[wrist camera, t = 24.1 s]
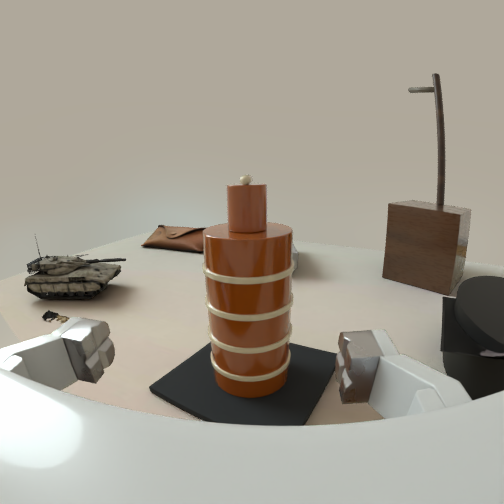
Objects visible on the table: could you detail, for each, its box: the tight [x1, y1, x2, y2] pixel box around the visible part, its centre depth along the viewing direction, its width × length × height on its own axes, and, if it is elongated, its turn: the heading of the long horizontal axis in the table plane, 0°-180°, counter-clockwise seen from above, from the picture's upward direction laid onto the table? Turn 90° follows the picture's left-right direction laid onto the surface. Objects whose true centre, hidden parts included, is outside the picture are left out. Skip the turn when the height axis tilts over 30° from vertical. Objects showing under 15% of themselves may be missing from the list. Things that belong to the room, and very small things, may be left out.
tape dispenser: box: [440, 276, 504, 400], centre depth 20 cm, size 14×18×8 cm
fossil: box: [42, 311, 69, 323], centre depth 32 cm, size 8×2×1 cm, turn 78°
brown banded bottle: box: [202, 175, 294, 398], centre depth 21 cm, size 6×6×16 cm
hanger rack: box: [382, 74, 471, 296], centre depth 40 cm, size 12×12×36 cm
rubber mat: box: [149, 342, 337, 426], centre depth 23 cm, size 12×12×1 cm
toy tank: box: [24, 253, 126, 299], centre depth 40 cm, size 8×18×10 cm, turn 96°
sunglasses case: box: [141, 225, 206, 251], centre depth 67 cm, size 18×7×7 cm
